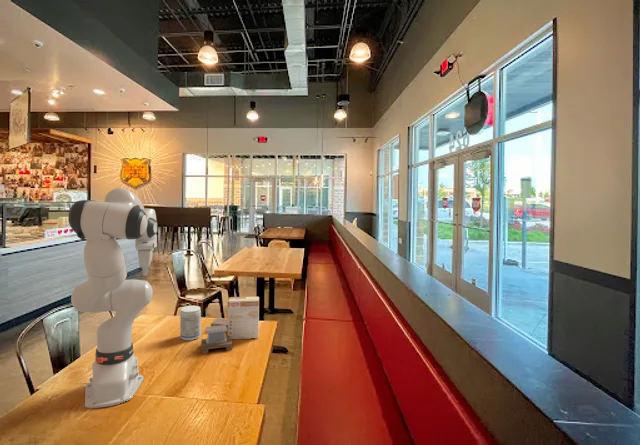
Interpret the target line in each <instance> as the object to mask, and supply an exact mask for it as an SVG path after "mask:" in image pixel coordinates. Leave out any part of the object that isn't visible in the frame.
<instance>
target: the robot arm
mask: <svg viewBox="0 0 640 445" xmlns="http://www.w3.org/2000/svg"><path fill="white" fill-rule="evenodd" d="M158 223H159V222H158V221H157V213H156V211H155V209H154V208H150V207H145V206H144V204H143V202H142V200H141V199H140V198H139V197H138V195H136V194H135V193H134V192H132V191H131V190H129V189H127V188H125V187H117V188H112V189H111V190H110V191H108V192H107V193H106V195H105V197H104V201H99V200H98V201H97V200H91V199H82V200H77V201H75V203H73V204H72V205H71V207H70V209H69V211H68V224H69V227H70V228H71V230H72V231H73V232H74V233H75V234H76V236H77V237H78V238H79V240H85V239H86V243H85V245H84V250H83V262H84V266H85V270H86V273H87V277H88V279H87V280H86V281H84V282H81V283H80V284H78V285H77V286H76V287H75V288H74V289H73V291H72V293H71V295H70V296H71V298H70V301H71V302H70V303H71V305H72V307H73V308H74V309H75V310H76V311H77V312H80V313H81V312H82V313H103V312H115V315H114V316H113V317H111V318H108V319H106V320H105V321H104V322H102V323H101V324H100V325H99V326H98V327H97V330H96V350H95V356H94V357H95V359H94V360H95V361H94V362H92V363H91V366H92V377H90V379H89V382H87V383H86V384H85V389H84V390H85V393H84V394H85V395H84V407H85V408H86V409H99V408H100V409H101V408H107V407H111V406H117V405H120V403H121V404H124V403H126V402H125V401H127V402H129V401H131V400H132V399H133V397H134V396H135V394H136V393H137V391H138V389H139V387H140V386H141V384H142V382H143V381H144V379H145V378H144V375H142V374H139V361H138V360H139V359H138V357H137V356H135V354H134V345H133V342H132V338H133V337H132V334H133V333H132V332H133V325H134V321H135V320H136V317H137V315H138V314H139V313H140V312H141V311H142V310H143V309H144V308H146V307H147V306H148V305H149V304H150V303H151V301H152V298H153V295H154V292H153V291H154V290H153V287H152V284H150V282H149V281H148V280H142V279H135V278H134V279H133V278H132V279H126V278H127V276H128V271H127V266H126V262H125V261H126V260H125V257H124V253H123V250H122V248H121V246H120V244H119V242H118V241H117V240H135V242H134V244H135V246H134V247H135V249H136V251H137V255H138V257H137V258H138V264H139V265H138V266H139V268H141V270H142V276H143V277H147V276H148V275H149V272H150V271H151V270H150V269H151V263H152V261H153V257H154V256H153V255H154V254H153V251H155V248H157V247H158V234H157V233H158V232H159V230H158V227H159V226H158ZM133 395H134V396H133ZM131 398H132V399H131ZM130 399H131V400H130ZM128 400H129V401H128ZM123 402H124V403H123Z"/></svg>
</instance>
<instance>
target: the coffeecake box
mask: <svg viewBox="0 0 640 445" xmlns="http://www.w3.org/2000/svg"><path fill="white" fill-rule="evenodd" d="M227 319H228V332H227V336H230V338H231V340H248V339H249V340H251V338H255V339H259V331H260V330H259V329H260V324H259V323H260V322H259V320H260V297H259V296H231V297H229V298H228V300H227Z"/></svg>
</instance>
